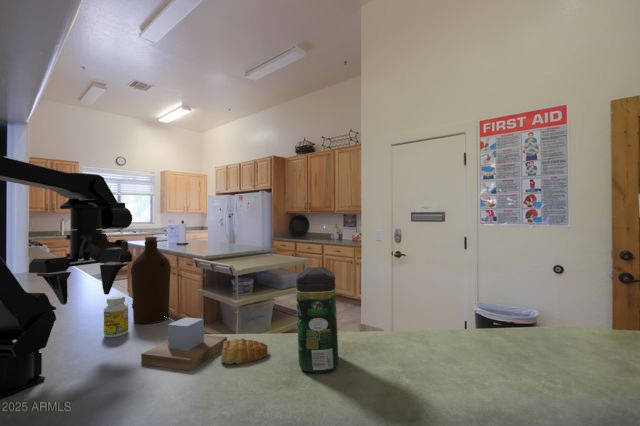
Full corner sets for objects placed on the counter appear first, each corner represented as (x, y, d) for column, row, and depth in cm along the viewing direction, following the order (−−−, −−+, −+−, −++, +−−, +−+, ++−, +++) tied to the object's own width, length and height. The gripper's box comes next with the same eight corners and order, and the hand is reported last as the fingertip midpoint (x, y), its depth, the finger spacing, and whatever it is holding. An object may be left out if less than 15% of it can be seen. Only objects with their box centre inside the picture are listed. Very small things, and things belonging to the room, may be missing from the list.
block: (187, 350, 62) (187, 326, 62) (168, 348, 64) (168, 324, 64) (203, 341, 67) (203, 318, 67) (185, 339, 68) (185, 317, 69)
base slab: (189, 370, 58) (189, 360, 58) (141, 363, 61) (141, 353, 61) (227, 346, 69) (226, 337, 69) (184, 341, 73) (184, 333, 73)
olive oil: (176, 313, 97) (175, 235, 98) (161, 324, 86) (160, 237, 87) (142, 315, 96) (142, 236, 97) (123, 326, 86) (122, 238, 87)
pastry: (267, 349, 68) (266, 331, 68) (268, 362, 61) (267, 343, 61) (223, 353, 66) (223, 336, 66) (219, 368, 59) (219, 348, 59)
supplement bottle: (132, 329, 82) (132, 294, 83) (122, 337, 77) (121, 299, 78) (110, 331, 82) (110, 295, 82) (99, 338, 76) (99, 300, 77)
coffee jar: (299, 353, 64) (297, 265, 65) (337, 352, 64) (334, 264, 65) (296, 376, 55) (293, 272, 55) (340, 374, 55) (336, 271, 55)
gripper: (66, 230, 57) (65, 313, 57) (148, 228, 75) (149, 291, 74) (27, 231, 61) (26, 309, 60) (115, 229, 78) (115, 289, 78)
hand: (86, 299), depth 68 cm, fingers open, 9 cm apart
